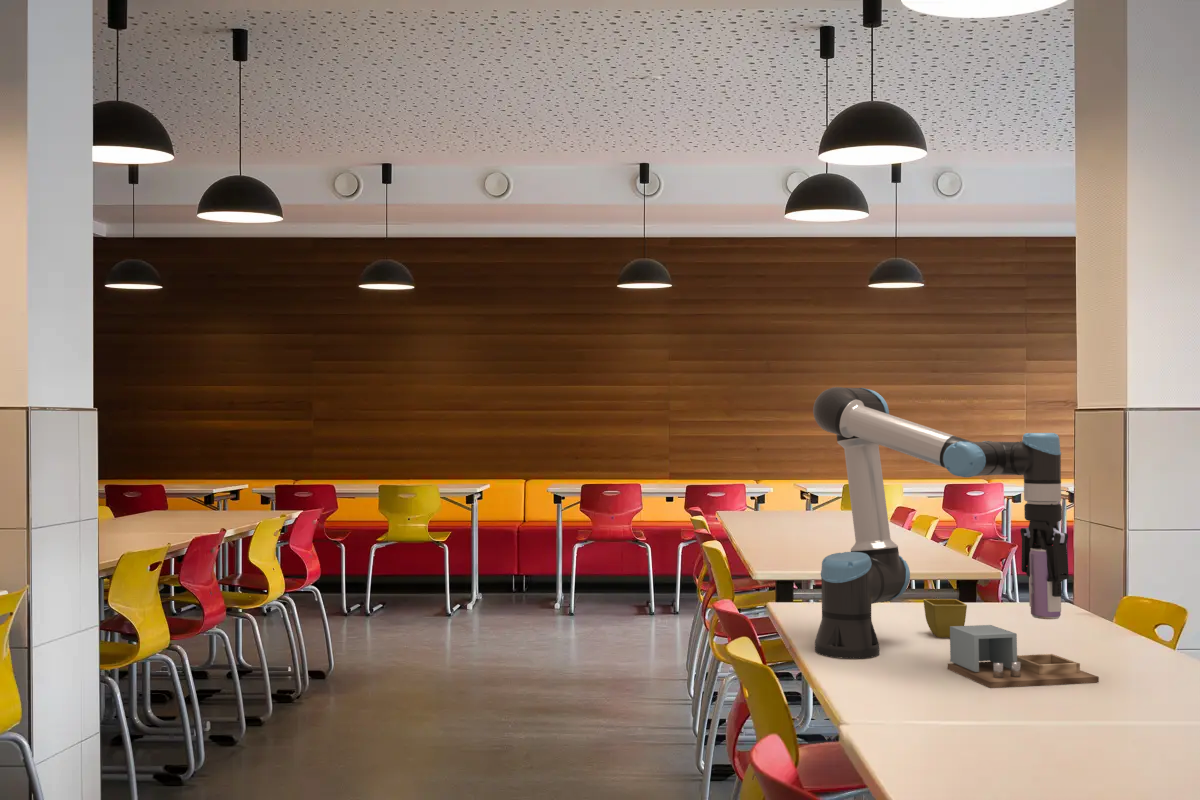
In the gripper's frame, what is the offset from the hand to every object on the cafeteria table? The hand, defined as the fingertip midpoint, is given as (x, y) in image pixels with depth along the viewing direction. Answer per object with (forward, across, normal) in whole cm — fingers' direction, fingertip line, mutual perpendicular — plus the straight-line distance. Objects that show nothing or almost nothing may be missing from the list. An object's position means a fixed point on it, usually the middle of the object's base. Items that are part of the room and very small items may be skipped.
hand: (1045, 608), depth 215 cm
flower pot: (+14, +42, +1) cm, 44 cm away
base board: (+14, 0, +6) cm, 16 cm away
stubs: (+13, -5, +13) cm, 19 cm away
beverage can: (+2, 0, 0) cm, 2 cm away
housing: (+13, +4, +13) cm, 18 cm away
